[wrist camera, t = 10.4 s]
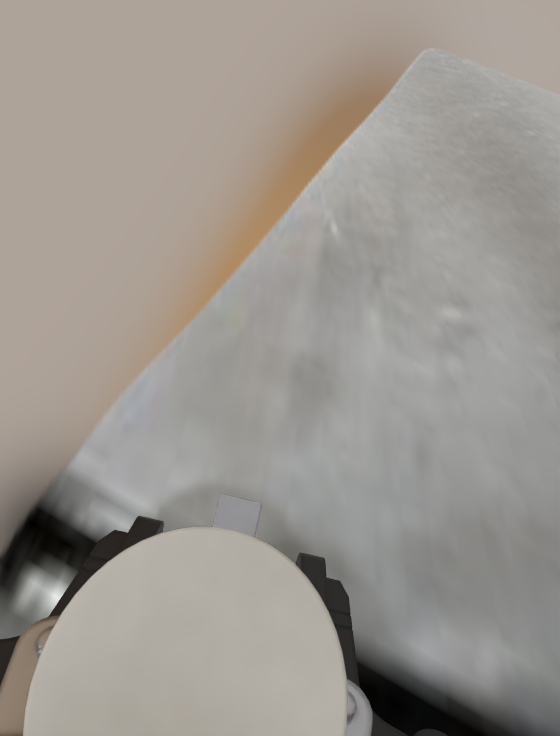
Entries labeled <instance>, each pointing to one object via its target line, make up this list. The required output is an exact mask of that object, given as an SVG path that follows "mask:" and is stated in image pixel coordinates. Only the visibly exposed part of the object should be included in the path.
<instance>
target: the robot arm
mask: <svg viewBox="0 0 560 736" xmlns="http://www.w3.org/2000/svg"><path fill="white" fill-rule="evenodd" d="M163 526H164V522H163V521H160V520H155V519H151V518H146V517H142V516H138V517H137V518H136V520H135V522H134V523H133V525H132V527H131V529H130V530H129V532H128V533H126V532H122V531H117V530H114V531H112V532H111V533H110V534H108V535H107V536H105V537H104V538H102V539H101V540H99V542H98V543H97V545H96V546H95V548H94V549H93V551H92V552H91V554H90V556H89V558H87V560H86V561H85V563H84V564H83V566H82V569H80V570H79V572H78V573H77V575H76V576H75V578H74V579H73V581H72V582H71V584H70V585H69V587H68V588H67V590H66V591H65V593H64V594H63V596H62V597H61V599H60V600H59V602H58V603H57V605H56V606H55V608H54V609H53V611H52V612H51V614H50V615H49V616H48V617H47V618H44V619H42V620H40V621H37V622H36V623H34V624H32V625H31V626H30V627H28V628H27V629H26V630H25V631H24V632H23V633H22V635H20V636H17V637H13V638H8V639H0V736H23V728H24V718H25V709H26V704H27V699H28V695H29V690H30V685H31V681H32V678H33V675H34V672H35V669H36V666H37V663H38V660H39V657H40V655H41V652H42V650H43V648H44V646H45V643H46V641H47V639H48V637H49V635H50V633H51V631H52V629H53V628H54V626H55V624H56V622H57V621H58V619H59V617H60V615H61V614H62V612H63V611H64V609H65V608H66V607H67V605H68V604H69V602H70V601H71V600H72V598H73V597H74V596H75V594H76V593H77V592H78V591H79V590H80V589H81V587H82V586H83V585H84V584H85V583H86V582H87V581H88V580H89V579H90V577H91V576H93V575H94V574H95V573H96V572H97V571H98V570H99V569H100V568H101V567H103V566H104V565H105V564H106V563H107V562H108V561H110V560H111V559H113V558H114V557H115V556H117V555H118V554H120V553H121V552H122V551H124V550H126V549H127V548H129V547H131V546H133V545H135V544H137V543H138V542H140V541H142V540H144V539H147V538H150V537H152V536H155V535H157V534H160V533H162V532H163ZM296 566H297V567H298V568H299V569H300V570H301V571H302V572H303V573H304V574H305V575H306V577H307V578H308V579H309V580H310V582H311V583H312V585H313V586H314V588H315V589H316V590H317V592H318V593H319V595H320V597H321V599H322V600H323V602H324V604H325V606H326V608H327V610H328V611H329V614H330V616H331V619H332V621H333V624H334V626H335V629H336V631H337V635H338V638H339V642H340V645H341V649H342V653H343V658H344V664H345V670H346V677H347V694H348V708H347V727H346V734H345V736H408V735H406V734H405V733H403V732H401V731H399V730H398V729H396V728H394V727H392V726H391V725H389V724H388V723H386V722H384V721H383V720H382V719H381V718H379V717H378V716H377V715H376V714H375V713H374V712H373V711H372V709H371V706H370V703H369V701H368V699H367V697H366V696H365V694H364V693H363V692H362V690H361V689H360V685H359V679H358V670H357V662H356V654H355V646H354V638H353V630H352V621H351V616H350V605H349V597H348V595H347V593H346V591H345V590H344V588H343V586H342V584H341V582H340V581H338V580H334V579H329V578H326V564H325V558H323V557H318V556H314V555H309V554H305V553H299V555H298V558H297V562H296ZM414 736H448V735H446V734H444V733H442V732H440V731H437V730H433V729H423V730H420V731H418V732H417V733H416V734H415V735H414Z"/></svg>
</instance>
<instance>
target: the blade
mask: <svg viewBox="0 0 560 736" xmlns="http://www.w3.org/2000/svg"><path fill="white" fill-rule="evenodd" d="M261 506H262V503H260V502H256V501H251V500H247V499H242V498H238V497H234V496H229V495H225V494H221V495H220V498H219V502H218V506H217V510H216V514H215V518H214V521H213V525H212V527H206V526H196V527H187V528H179V529H175V530H171V531H167V532H163V533H160V534H157V535H155V536H152V537H150V538H147V539H144V540H142V541H140V542H138V543H137V544H135V545H133V546H131V547H129V548H127V549H126V550H124V551H122V552H121V553H120V554H118V555H117V556H115V557H114V558H113V559H111V560H110V561H108V562H107V563H106V564H105V565H104V566H103V567H101V568H100V569H99V570H98V571H97V572H96V573H95V574H94V575H93V576H91V577H90V579H89V580H88V581H87V582H86V583H85V584H84V585H83V586H82V587H81V589H80V590H79V591H78V592H77V593H76V594H75V596H74V597H73V598H72V600H71V601H70V602H69V604H68V605H67V607H66V608H65V609H64V611H63V612H62V614H61V615H60V617H59V619H58V621H57V622H56V624H55V626H54V628H53V629H52V631H51V633H50V635H49V637H48V639H47V641H46V643H45V646H44V648H43V650H42V652H41V655H40V657H39V660H38V663H37V666H36V669H35V672H34V675H33V678H32V681H31V685H30V690H29V695H28V699H27V704H26V709H25V718H24V728H23V736H345V734H346V727H347V708H348V694H347V677H346V670H345V664H344V658H343V653H342V649H341V645H340V642H339V638H338V635H337V631H336V629H335V626H334V624H333V621H332V619H331V616H330V614H329V611H328V610H327V608H326V606H325V604H324V602H323V600H322V599H321V597H320V595H319V593H318V592H317V590H316V589H315V588H314V586H313V585H312V583H311V582H310V580H309V579H308V578H307V577H306V575H305V574H304V573H303V572H302V571H301V570H300V569H299V568H298V567H297V566H296V565H295V563H293V562H292V561H291V560H290V559H289V558H287V557H286V556H285V555H284V554H283V553H282V552H280V551H279V550H277V549H276V548H274V547H272V546H271V545H269V544H268V543H266V542H264V541H262V540H260V539H258V538H256V537H255V534H256V530H257V525H258V520H259V515H260V511H261Z"/></svg>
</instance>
